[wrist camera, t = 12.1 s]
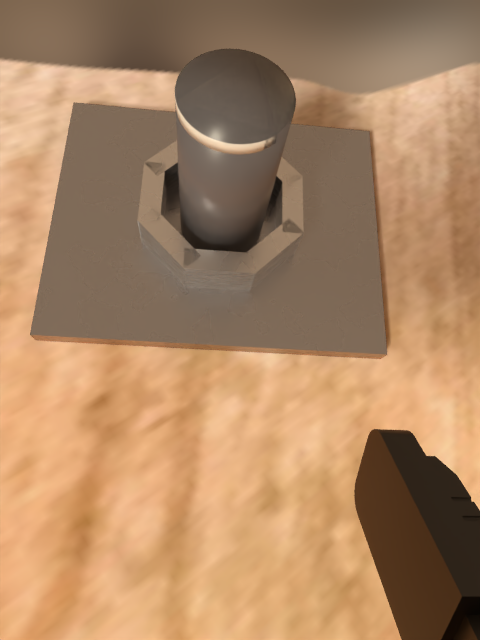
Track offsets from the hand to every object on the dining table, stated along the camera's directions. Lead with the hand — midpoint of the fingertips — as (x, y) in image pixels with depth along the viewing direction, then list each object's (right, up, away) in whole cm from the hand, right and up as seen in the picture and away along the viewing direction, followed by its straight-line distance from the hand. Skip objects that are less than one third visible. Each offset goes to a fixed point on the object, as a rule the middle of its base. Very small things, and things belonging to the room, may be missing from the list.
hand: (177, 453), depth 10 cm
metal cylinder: (0, +9, +19) cm, 21 cm away
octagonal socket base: (0, +9, +20) cm, 22 cm away
